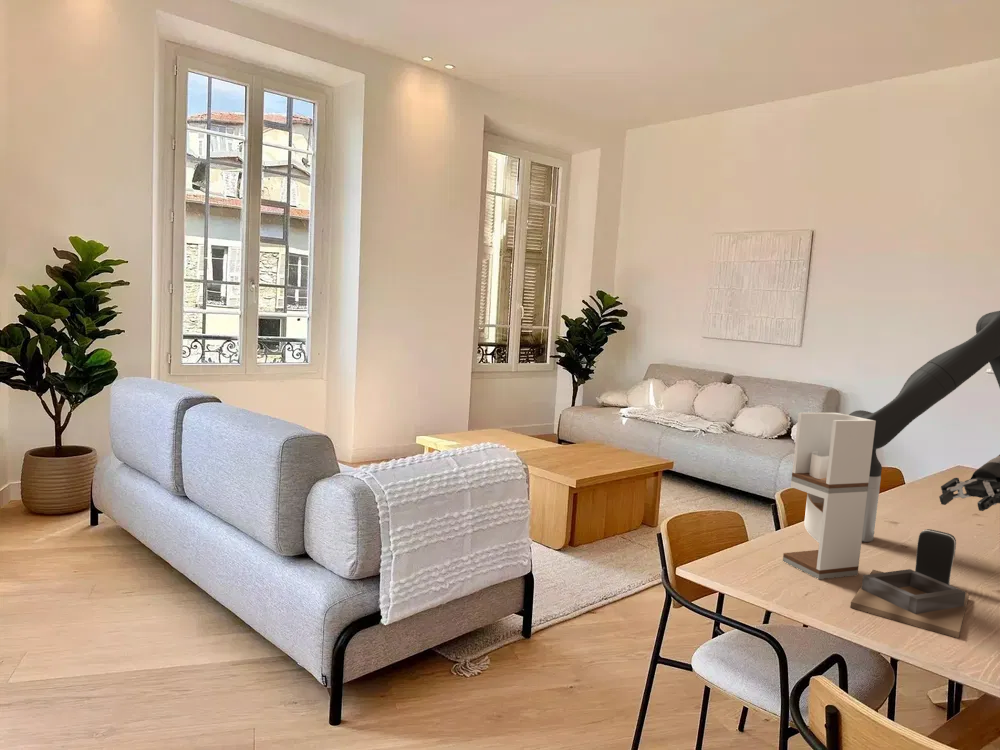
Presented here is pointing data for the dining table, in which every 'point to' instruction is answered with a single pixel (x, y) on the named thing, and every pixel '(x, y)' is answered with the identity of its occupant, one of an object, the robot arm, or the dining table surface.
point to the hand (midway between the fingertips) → (960, 504)
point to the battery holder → (913, 600)
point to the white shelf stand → (832, 490)
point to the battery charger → (935, 554)
